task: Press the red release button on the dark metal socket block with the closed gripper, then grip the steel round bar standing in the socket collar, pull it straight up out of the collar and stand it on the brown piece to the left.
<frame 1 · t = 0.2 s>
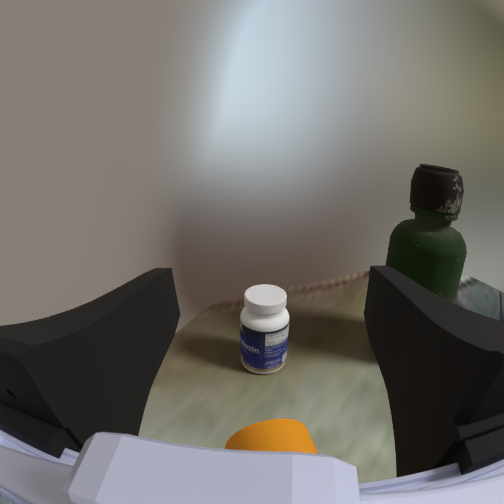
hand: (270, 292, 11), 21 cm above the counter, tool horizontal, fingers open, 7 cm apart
pill bottle: (263, 362, 38), on the counter
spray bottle: (402, 346, 40), on the counter
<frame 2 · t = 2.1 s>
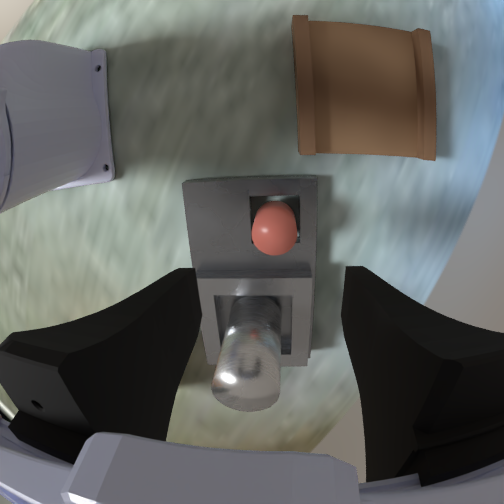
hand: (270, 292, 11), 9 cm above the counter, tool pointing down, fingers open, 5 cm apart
socket block: (255, 278, 22), on the counter
steel round bar: (255, 316, 22), point 1 cm above the counter, touching socket block
release button: (274, 226, 18), point 2 cm above the counter, slide at 0.0 cm
brown piece: (361, 88, 16), on the counter
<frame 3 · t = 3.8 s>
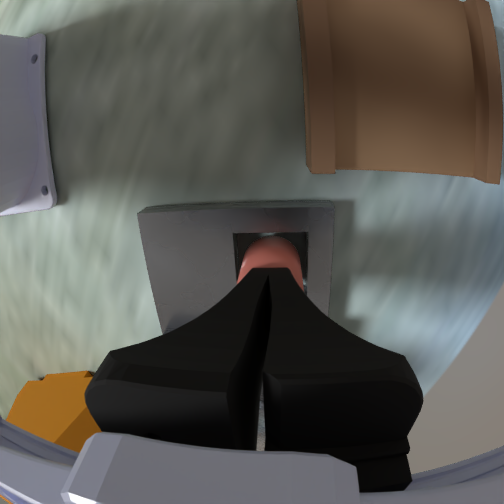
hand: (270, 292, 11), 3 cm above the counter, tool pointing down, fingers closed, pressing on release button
socket block: (244, 336, 16), on the counter
steel round bar: (245, 383, 16), point 1 cm above the counter, touching socket block
release button: (270, 276, 12), point 2 cm above the counter, slide at 0.5 cm, touching gripper
bracket: (93, 402, 21), on the counter
brown piece: (398, 74, 10), on the counter
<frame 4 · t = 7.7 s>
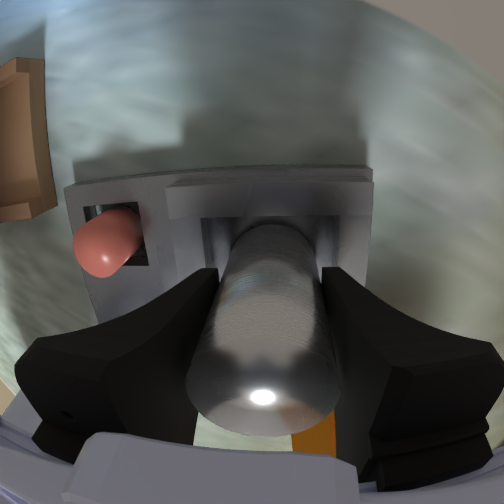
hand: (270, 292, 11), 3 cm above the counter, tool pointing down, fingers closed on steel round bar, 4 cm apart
socket block: (217, 256, 14), on the counter
steel round bar: (272, 265, 13), point 1 cm above the counter, touching gripper, socket block
release button: (109, 240, 13), point 2 cm above the counter, slide at 0.7 cm
bracket: (359, 419, 19), on the counter
brown piece: (3, 146, 13), on the counter
when the fingers open (4 cm above the counter, at t = 11.5 s): steel round bar stays where it is, resting on brown piece.
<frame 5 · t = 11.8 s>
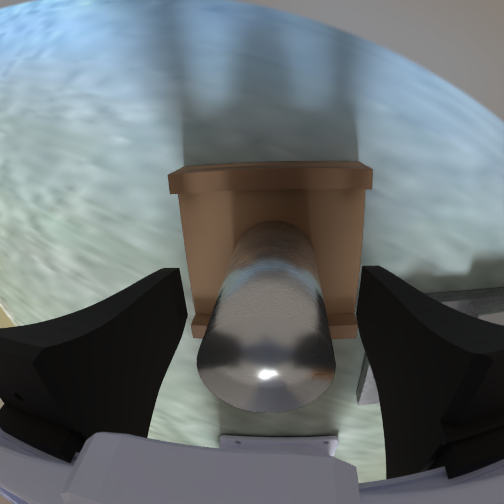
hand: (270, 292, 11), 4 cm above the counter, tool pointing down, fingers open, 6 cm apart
socket block: (460, 341, 17), on the counter
steel round bar: (273, 259, 14), point 1 cm above the counter, touching brown piece
brown piece: (273, 245, 15), on the counter
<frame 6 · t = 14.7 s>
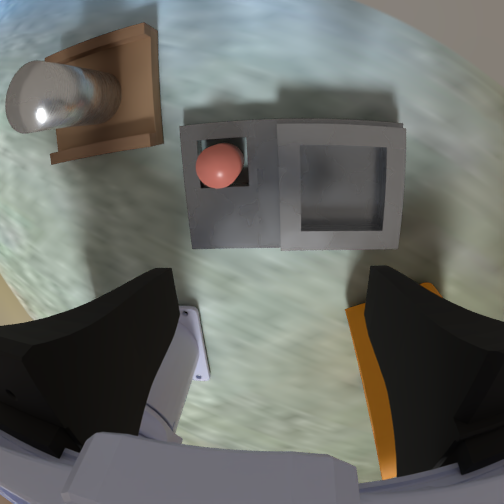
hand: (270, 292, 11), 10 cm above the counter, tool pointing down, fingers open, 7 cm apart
socket block: (298, 182, 19), on the counter
steel round bar: (98, 98, 17), point 1 cm above the counter, touching brown piece
release button: (221, 164, 18), point 2 cm above the counter, slide at 0.7 cm
bracket: (395, 338, 24), on the counter
brown piece: (107, 96, 18), on the counter
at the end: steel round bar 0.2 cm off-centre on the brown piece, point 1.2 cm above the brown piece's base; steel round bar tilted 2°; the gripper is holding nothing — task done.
